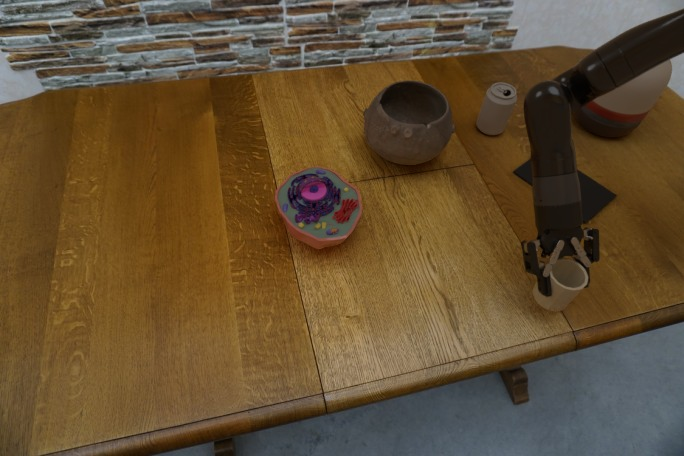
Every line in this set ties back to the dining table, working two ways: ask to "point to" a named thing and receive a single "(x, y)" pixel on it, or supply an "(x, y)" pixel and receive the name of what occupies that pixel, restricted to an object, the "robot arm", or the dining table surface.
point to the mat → (591, 190)
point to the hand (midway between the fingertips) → (564, 290)
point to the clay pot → (408, 122)
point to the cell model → (319, 206)
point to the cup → (562, 284)
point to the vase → (625, 104)
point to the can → (496, 108)
